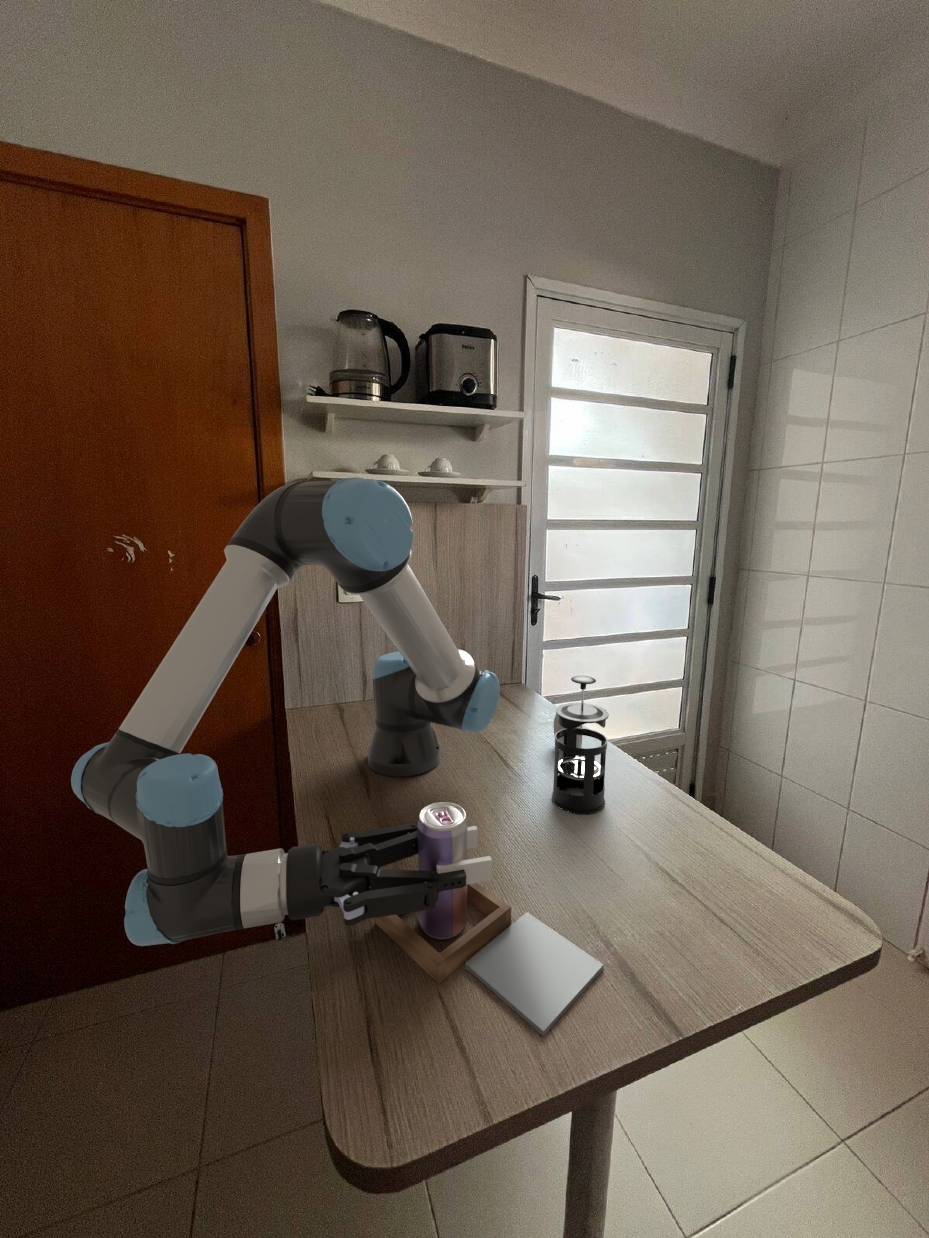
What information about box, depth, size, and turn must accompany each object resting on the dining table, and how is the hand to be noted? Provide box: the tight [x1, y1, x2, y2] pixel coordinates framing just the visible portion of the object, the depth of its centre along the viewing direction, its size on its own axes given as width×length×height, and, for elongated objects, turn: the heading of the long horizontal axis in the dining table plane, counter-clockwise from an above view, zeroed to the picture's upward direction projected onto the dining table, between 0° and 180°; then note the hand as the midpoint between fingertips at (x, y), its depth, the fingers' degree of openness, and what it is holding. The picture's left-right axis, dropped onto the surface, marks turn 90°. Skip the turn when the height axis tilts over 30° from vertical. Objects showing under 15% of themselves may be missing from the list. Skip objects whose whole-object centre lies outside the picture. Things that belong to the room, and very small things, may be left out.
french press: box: [551, 675, 609, 815], centre depth 91 cm, size 12×9×23 cm
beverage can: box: [417, 801, 468, 941], centre depth 63 cm, size 6×6×15 cm
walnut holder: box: [374, 883, 512, 984], centre depth 64 cm, size 12×12×2 cm
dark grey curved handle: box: [553, 713, 580, 753], centre depth 110 cm, size 10×4×10 cm, turn 13°
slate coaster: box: [464, 911, 604, 1037], centre depth 58 cm, size 11×11×1 cm
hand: (483, 851), depth 64 cm, fingers closed on beverage can, 6 cm apart
